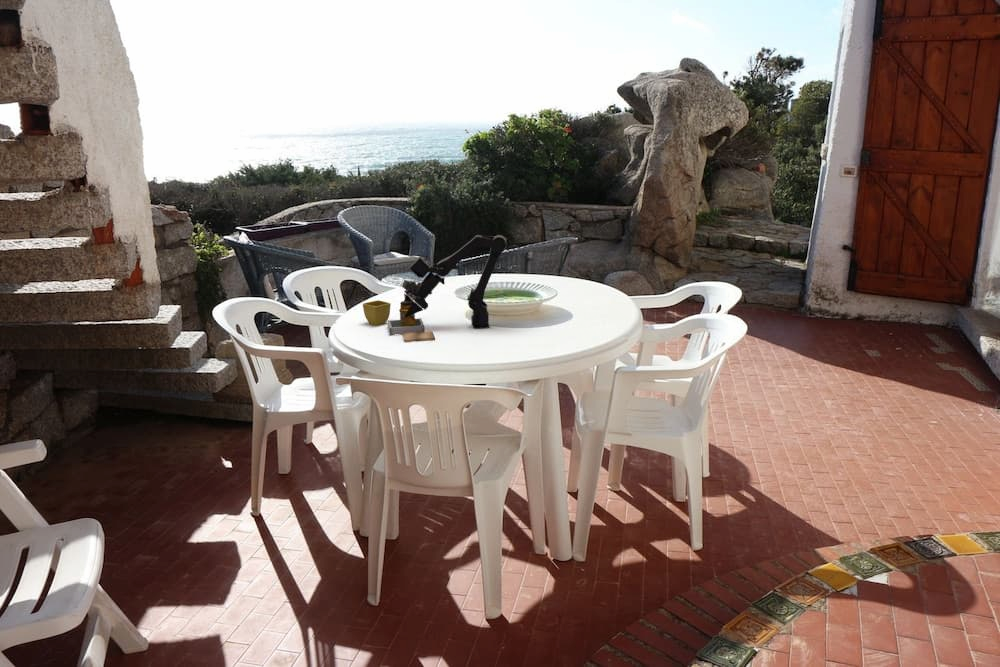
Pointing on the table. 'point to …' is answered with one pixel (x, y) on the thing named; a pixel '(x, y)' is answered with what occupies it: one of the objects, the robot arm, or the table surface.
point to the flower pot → (377, 311)
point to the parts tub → (397, 329)
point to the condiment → (404, 320)
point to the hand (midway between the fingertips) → (402, 314)
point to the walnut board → (418, 336)
